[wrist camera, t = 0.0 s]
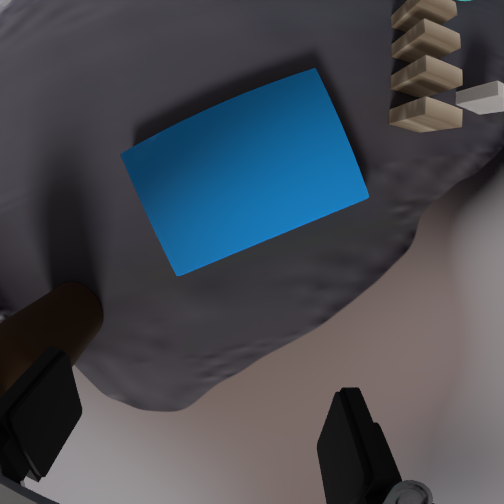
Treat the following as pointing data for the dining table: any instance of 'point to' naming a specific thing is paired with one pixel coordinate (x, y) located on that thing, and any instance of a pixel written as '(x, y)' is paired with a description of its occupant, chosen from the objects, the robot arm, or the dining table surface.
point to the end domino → (482, 98)
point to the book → (245, 171)
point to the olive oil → (48, 329)
